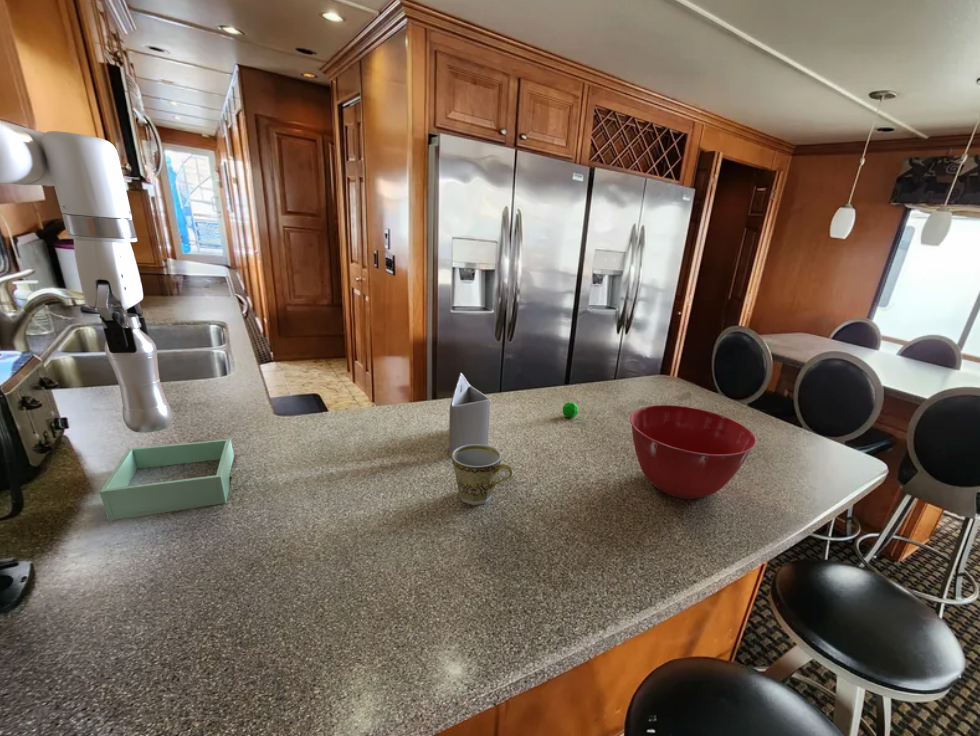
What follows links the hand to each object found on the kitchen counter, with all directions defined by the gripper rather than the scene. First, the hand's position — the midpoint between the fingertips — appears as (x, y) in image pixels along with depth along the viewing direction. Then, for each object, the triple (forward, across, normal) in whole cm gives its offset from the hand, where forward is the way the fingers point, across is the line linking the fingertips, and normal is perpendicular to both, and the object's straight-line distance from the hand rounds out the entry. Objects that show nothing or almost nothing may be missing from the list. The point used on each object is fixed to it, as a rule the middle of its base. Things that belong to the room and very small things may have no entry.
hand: (130, 345), depth 75 cm
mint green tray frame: (+29, -3, +1) cm, 30 cm away
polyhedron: (+29, -17, +96) cm, 102 cm away
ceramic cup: (+29, +18, +55) cm, 65 cm away
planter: (+29, -6, +61) cm, 68 cm away
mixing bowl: (+29, +27, +102) cm, 110 cm away
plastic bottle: (+15, 0, 0) cm, 15 cm away
